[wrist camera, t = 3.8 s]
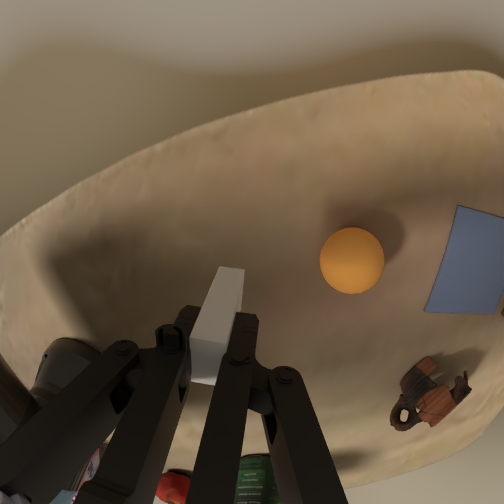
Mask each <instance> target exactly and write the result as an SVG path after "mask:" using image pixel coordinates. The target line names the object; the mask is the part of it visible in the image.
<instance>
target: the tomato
mask: <svg viewBox="0 0 504 504" xmlns="http://www.w3.org/2000/svg"><path fill="white" fill-rule="evenodd" d="M190 481H191V480H190V479H189V478H188V477H186V476H185V475H181V474H177V473H174V472H167V473H163V474H162V475H161V478H160V482H159V485H158V488H157V491H156V496H157V497H158V498H159V499H160V500H162V501H163V502H165V503H168V504H185V501H186V497H187V493H188V489H189V485H190Z"/></svg>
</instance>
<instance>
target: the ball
mask: <svg viewBox="0 0 504 504" xmlns="http://www.w3.org/2000/svg"><path fill="white" fill-rule="evenodd" d="M320 268H321V272H322V274H323V276H324V278H325V280H326V281H327V282H328V284H329V285H330V286H332V287H333V288H334V289H336V290H337V291H340V292H343V293H347V294H357V293H361V292H364V291H366V290H368V289H370V288H371V287H372V286H373V285H375V284H376V282H377V281H378V280H379V278H380V277H381V275H382V272H383V269H384V252H383V249H382V247H381V245H380V243H379V241H378V240H377V239H376V238H375V237H374V236H373V235H372V234H371V233H370V232H368V231H366V230H363V229H361V228H354V227H351V228H344V229H341V230H339V231H337V232H335V233H333V234H332V235H331V236H330V237H329V238H328V239H327V241H326V242H325V244H324V245H323V247H322V250H321V254H320Z"/></svg>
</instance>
